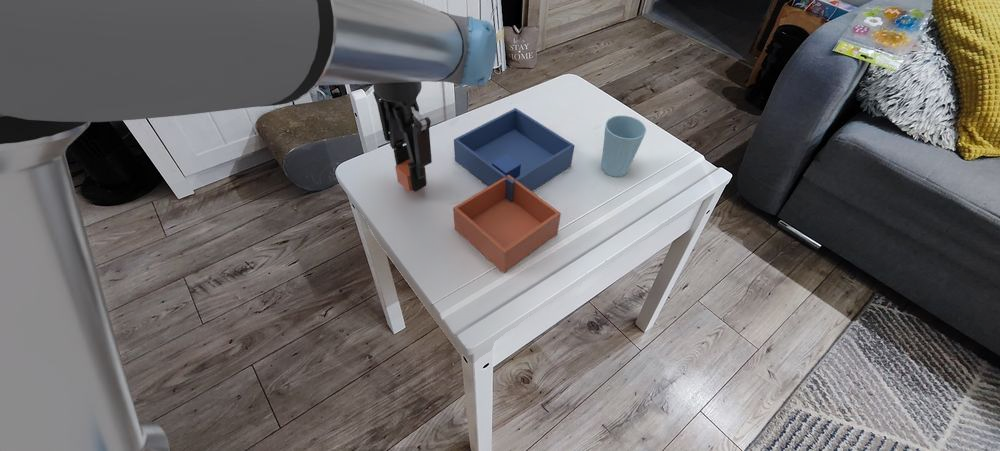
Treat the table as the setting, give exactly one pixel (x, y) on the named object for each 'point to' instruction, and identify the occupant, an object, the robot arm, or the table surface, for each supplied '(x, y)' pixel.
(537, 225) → the terracotta bin
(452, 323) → the table surface
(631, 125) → the cup
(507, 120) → the blue bin
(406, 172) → the terracotta block
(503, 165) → the blue block
